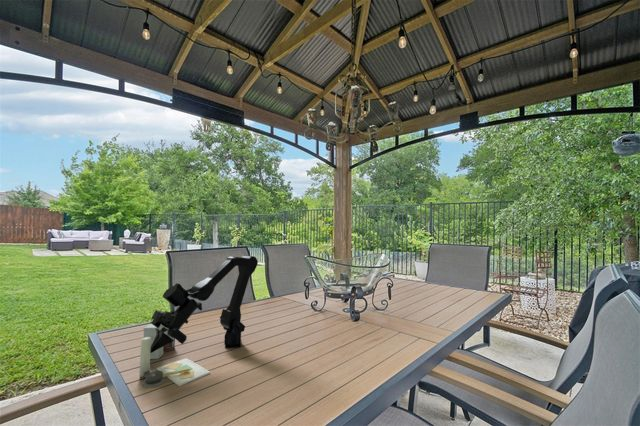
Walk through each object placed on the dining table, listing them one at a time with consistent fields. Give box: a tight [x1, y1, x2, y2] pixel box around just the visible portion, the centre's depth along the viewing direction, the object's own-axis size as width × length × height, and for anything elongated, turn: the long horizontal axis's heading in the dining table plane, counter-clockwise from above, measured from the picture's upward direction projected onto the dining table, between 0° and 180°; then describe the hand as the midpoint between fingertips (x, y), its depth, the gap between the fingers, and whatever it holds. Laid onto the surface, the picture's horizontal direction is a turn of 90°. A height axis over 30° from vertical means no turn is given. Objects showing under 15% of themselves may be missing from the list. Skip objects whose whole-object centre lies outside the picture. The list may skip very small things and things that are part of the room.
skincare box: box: [143, 324, 164, 360], centre depth 117 cm, size 6×4×12 cm
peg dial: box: [139, 337, 190, 384], centre depth 102 cm, size 11×15×12 cm
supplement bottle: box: [163, 338, 176, 352], centre depth 125 cm, size 6×6×11 cm
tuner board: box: [141, 357, 211, 388], centre depth 103 cm, size 18×17×1 cm
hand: (149, 352), depth 104 cm, fingers closed, pressing on peg dial
